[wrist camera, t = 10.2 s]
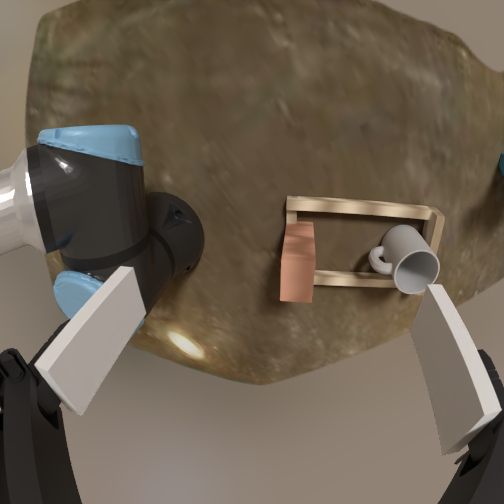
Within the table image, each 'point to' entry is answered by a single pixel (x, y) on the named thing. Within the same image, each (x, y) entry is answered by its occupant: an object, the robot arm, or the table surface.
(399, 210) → the frame
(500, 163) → the cup
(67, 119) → the table surface
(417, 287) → the cup
